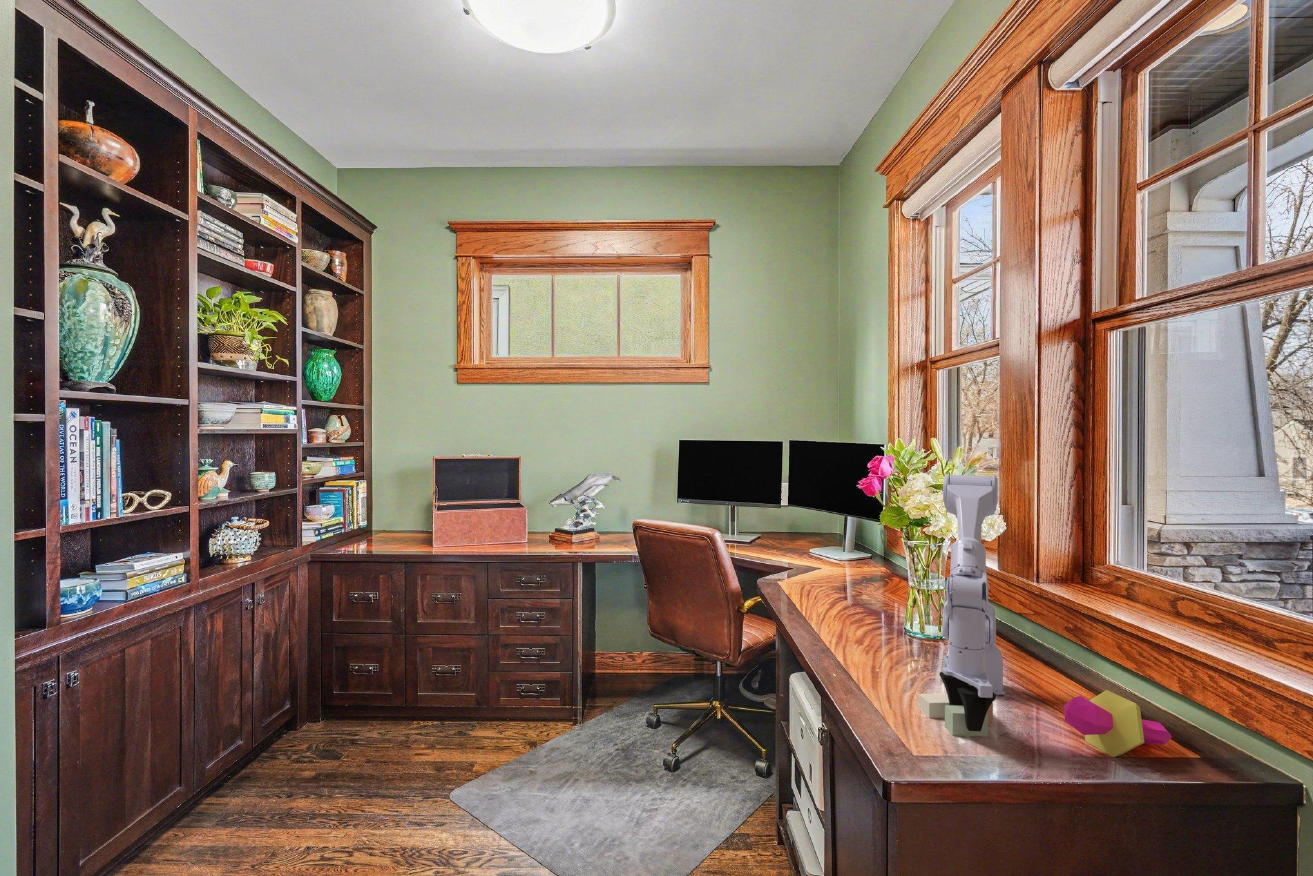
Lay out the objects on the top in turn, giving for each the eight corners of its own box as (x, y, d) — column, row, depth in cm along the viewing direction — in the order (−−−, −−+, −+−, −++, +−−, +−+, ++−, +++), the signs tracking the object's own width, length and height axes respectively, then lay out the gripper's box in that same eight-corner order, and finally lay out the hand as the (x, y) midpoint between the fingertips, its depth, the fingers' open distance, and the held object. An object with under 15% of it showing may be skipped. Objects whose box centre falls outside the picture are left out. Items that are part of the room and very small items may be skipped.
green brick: (979, 728, 114) (979, 706, 114) (987, 737, 110) (988, 713, 110) (944, 727, 114) (944, 705, 114) (952, 736, 110) (952, 713, 110)
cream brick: (949, 709, 122) (949, 693, 122) (960, 718, 118) (960, 702, 118) (918, 710, 121) (918, 694, 121) (929, 719, 117) (929, 703, 117)
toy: (1193, 772, 100) (1183, 703, 105) (1096, 746, 98) (1090, 676, 102) (1134, 768, 109) (1127, 704, 114) (1044, 744, 107) (1040, 679, 111)
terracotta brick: (959, 710, 121) (960, 689, 121) (977, 711, 121) (977, 689, 121) (974, 725, 115) (974, 702, 115) (992, 725, 115) (992, 703, 115)
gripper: (927, 631, 119) (926, 704, 119) (962, 658, 105) (961, 741, 105) (965, 632, 119) (964, 705, 119) (1005, 659, 105) (1005, 742, 105)
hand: (966, 722), depth 112 cm, fingers open, 5 cm apart
